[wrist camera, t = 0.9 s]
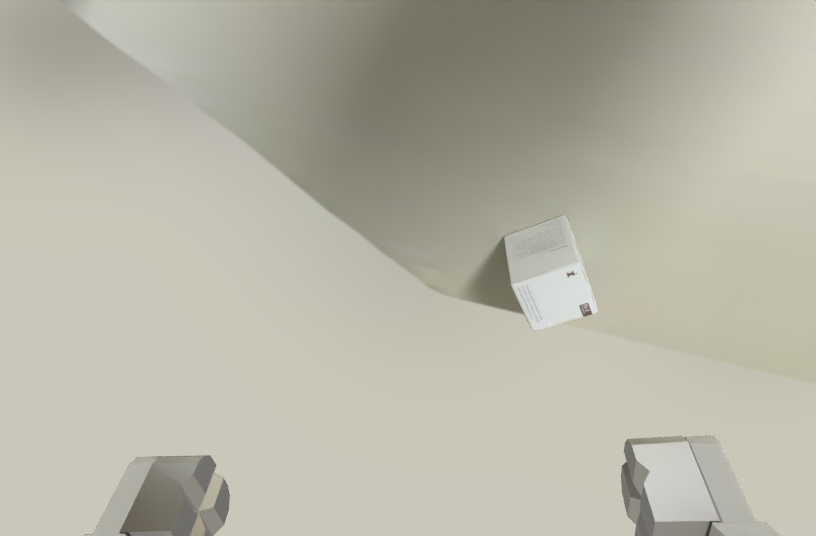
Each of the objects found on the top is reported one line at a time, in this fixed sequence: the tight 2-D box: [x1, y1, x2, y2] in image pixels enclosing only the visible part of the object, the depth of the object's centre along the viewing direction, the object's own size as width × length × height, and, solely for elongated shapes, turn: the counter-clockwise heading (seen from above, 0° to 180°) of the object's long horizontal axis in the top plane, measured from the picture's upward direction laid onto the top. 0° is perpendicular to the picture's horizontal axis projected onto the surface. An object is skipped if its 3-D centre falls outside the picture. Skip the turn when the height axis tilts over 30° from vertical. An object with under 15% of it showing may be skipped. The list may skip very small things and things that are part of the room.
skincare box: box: [504, 215, 598, 331], centre depth 51 cm, size 6×6×7 cm
